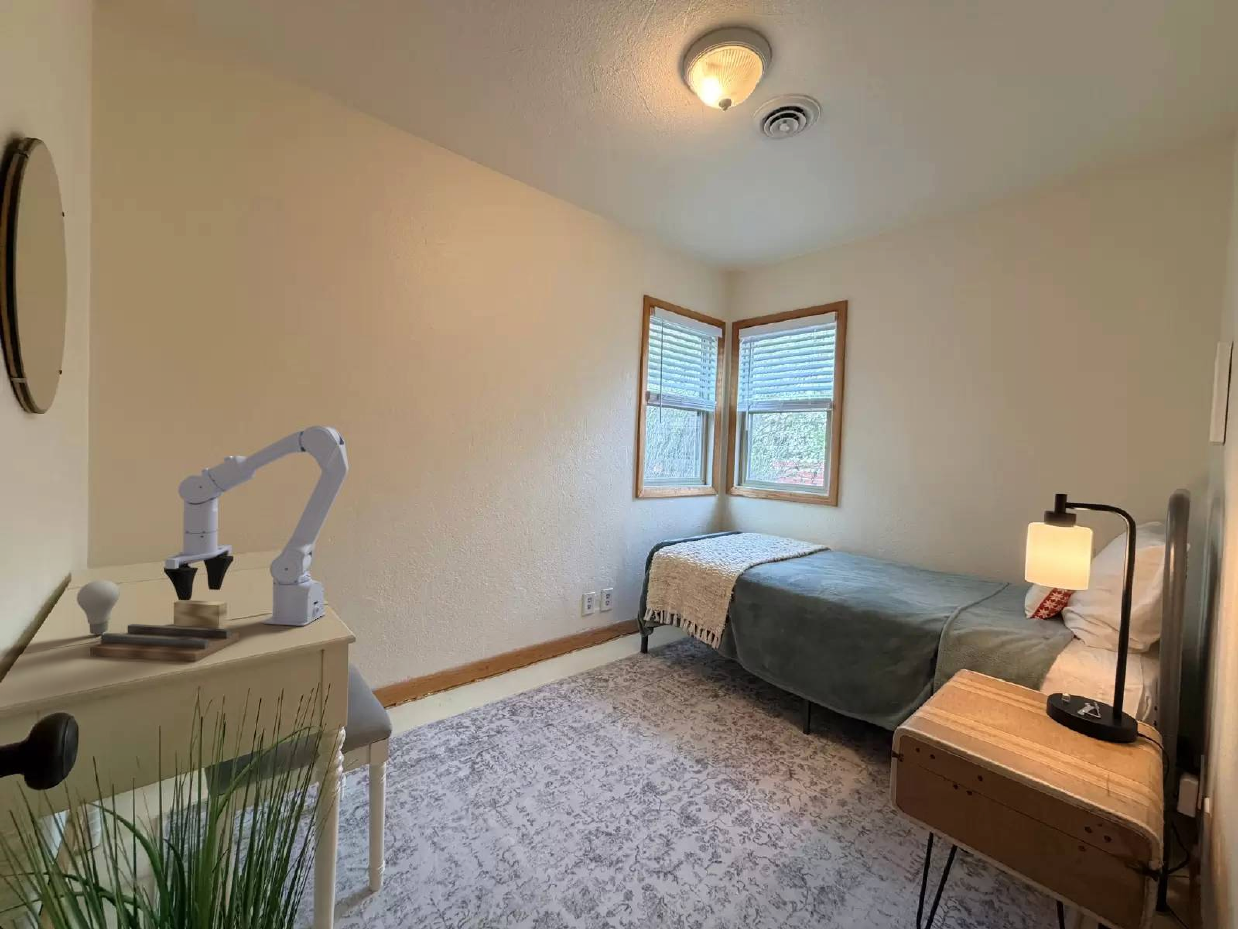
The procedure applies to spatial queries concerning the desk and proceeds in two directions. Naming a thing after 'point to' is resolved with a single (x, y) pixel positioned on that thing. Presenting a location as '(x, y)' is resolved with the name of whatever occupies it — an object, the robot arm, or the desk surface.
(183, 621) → the wooden block
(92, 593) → the lightbulb
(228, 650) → the desk surface
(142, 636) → the track board
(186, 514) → the robot arm
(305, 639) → the desk surface
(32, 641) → the desk surface
